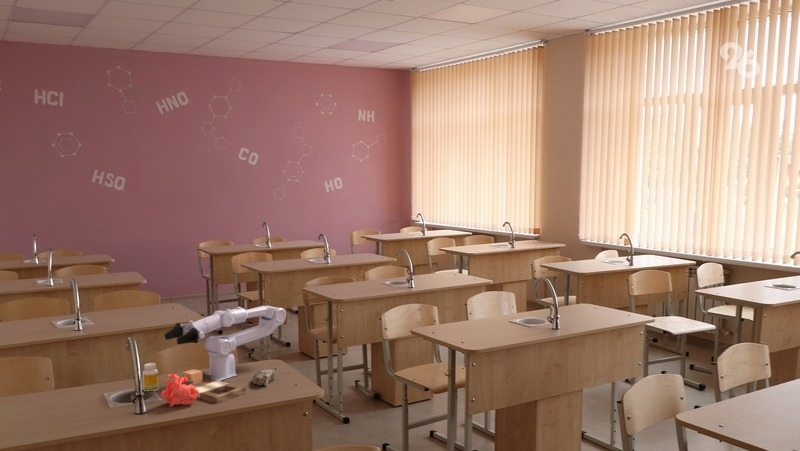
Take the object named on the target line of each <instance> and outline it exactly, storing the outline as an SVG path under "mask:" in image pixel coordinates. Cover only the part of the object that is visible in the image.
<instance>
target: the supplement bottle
mask: <svg viewBox="0 0 800 451" xmlns="http://www.w3.org/2000/svg"><path fill="white" fill-rule="evenodd" d="M143 367H144V370H143V371H142V390H145V391H154V392H156V391H158V390H159V386H160V385H159V383H160V382H159V370H158V369H157V363H155V362H149V363H145V364H144V365H143ZM145 391H144V392H145Z"/></svg>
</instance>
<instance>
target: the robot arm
mask: <svg viewBox="0 0 800 451" xmlns="http://www.w3.org/2000/svg"><path fill="white" fill-rule="evenodd" d="M257 317H259V320H258V324H257V325H255V326H251V327H249V328H246V329H243V330H240V331H237V332H234V333H232V334H225V335H219V336H215V335H211V336H209V337H207V338H206V340H205V342H204V348H205V350H206V352H207V353H208V354H207V355H208V359H209V360H208V361H209V364H208V366H209V373H210V374H214V380H218V381H223V380H226V379H231V378H233V377H235V376H236V377H237V376H238V374H237V373H236V359H235V356H234V354H233V353H232V351H235V350H236V347H239V346H241V345H244V344H247V343H250V342H253V341H256V340H260V339H261V338H265V337H268V336H269V335H271V334H272V333H273V332H274V331H275V330H276V329H277V328H278V327H279V326H282V325H284V323H285V320H286V317H287V311H286V310H285V308H282V307H275V306H271V305H267V304H266V305H261V306H258V307H252V308H249V309H245V308H243V307H241V306H236V307H235V308H233V309H231V308H227V309H226V310H215V311H214V312H213V313H212V314H211V315H208V316H206V317H204V318H201V319H198V320H195V321H194V320H188V323H185V324H181V323H180V322H177V323H175V325H174V326H173V327H172V328H171V329H170V330H168V331H166V333H165V334H164V339H165V340H168V341H169V340H171V339H176V344H177V345H184V344H198V343H199V340H202V339H203V338H205V337H206V334H208V333H211V332H213V331H217V329H221V328H222V327H225V328H229V327H231V326H232V325H235V324H242V323H244V322H246V321H247V319H251V318H257Z"/></svg>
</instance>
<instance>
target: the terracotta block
mask: <svg viewBox="0 0 800 451" xmlns="http://www.w3.org/2000/svg"><path fill="white" fill-rule="evenodd" d="M202 372H203V370H200V369H196V368H192V369H189V370H186V371H182V377H184V376H185V377H188V378H187V379H188V380H192V381H193V384H197V383H200V382H203V375H202Z"/></svg>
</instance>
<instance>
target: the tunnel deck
mask: <svg viewBox="0 0 800 451" xmlns="http://www.w3.org/2000/svg"><path fill="white" fill-rule="evenodd" d="M202 375H203V382H200V383H197V384H193V381H192V380H188V379H187V380H188V382H185V381H184V383H181V385H183V384H185V385H187V386H188V385H189V384H192V385H193V386H194V387H195V388H196V389H197V390H198V392H197V399H201V400H204V401H207V402H211V403H214V404H220V403H222V402H225V401H228V400H230V399H233V398H236V397H239V396H242V395H244V394H247V388H246V387H244V386H241V385H237V384H233V383H229V382H226V381H223V380H221V381H218V380H214V374H210V372H205V371H202ZM181 378H182V377H180V376H179V379H181ZM169 384H170V382H169ZM171 386H172V385H171ZM190 392H191V390H190ZM191 393H192V392H191Z"/></svg>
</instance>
